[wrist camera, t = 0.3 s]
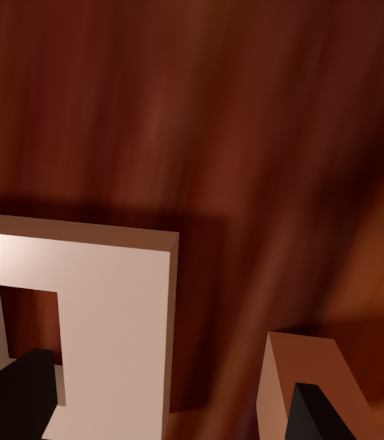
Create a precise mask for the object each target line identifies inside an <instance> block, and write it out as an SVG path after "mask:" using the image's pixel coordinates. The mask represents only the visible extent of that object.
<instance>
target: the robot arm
mask: <svg viewBox="0 0 384 440" xmlns="http://www.w3.org/2000/svg"><path fill="white" fill-rule="evenodd" d="M57 405H58V397H57V387H56V376H55V366H54V355H53V351H52V350H45V349H37V348H34V349H32V350H30V351H29V352H27V353H26V354H24V355H22V356H21V357H19V358H18V359H16V360H15V361H13V362H12V363H10V364H9V365H7V366H6V367H4V368H3V369H1V370H0V440H41V438H42V436H43V434H44V432H45V430H46V428H47V426H48V424H49V422H50V419H51V417H52V415H53V413H54V411H55V409H56V407H57ZM285 440H357V439H356V438H355V436H354V435H353V433H352V432H351V431H350V429H349V428H348V427H347V425H346V424H345V422H344V421H343V420H342V418H341V417H340V415H339V414H338V413H337V411H336V410H335V408H334V407H333V406H332V404H331V403H330V401H329V400H328V398H327V397H326V396H325V394H324V393H323V391H322V390H321V389H320V387H319V386H318V385H315V384H307V383H299V382H295V386H294V391H293V396H292V401H291V406H290V411H289V417H288V422H287V427H286V432H285Z"/></svg>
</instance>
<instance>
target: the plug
mask: <svg viewBox="0 0 384 440" xmlns="http://www.w3.org/2000/svg"><path fill="white" fill-rule="evenodd" d="M295 382H299V383H307V384H315V385H318V386H319V387H320V389H321V390H322V391H323V393H324V394H325V396H326V397H327V398H328V400H329V401H330V403H331V404H332V406H333V407H334V408H335V410H336V411H337V413H338V414H339V415H340V417H341V418H342V420H343V421H344V422H345V424H346V425H347V427H348V428H349V429H350V431H351V432H352V433H353V435H354V436H355V438H356V439H357V440H384V434H383V432H382V430H381V428H380V426H379V424H378V422H377V420H376V418H375V416H374V415H373V413H372V411H371V409H370V407H369V405H368V403H367V401H366V399H365V397H364V396H363V394H362V392H361V390H360V388H359V386H358V384H357V382H356V380H355V378H354V376H353V375H352V373H351V371H350V369H349V367H348V365H347V363H346V361H345V359H344V357H343V356H342V354H341V352H340V350H339V348H338V346H337V344H336V342H335V340H334V339H327V338H319V337H311V336H303V335H295V334H287V333H279V332H271V331H268V337H267V343H266V349H265V355H264V361H263V367H262V373H261V379H260V385H259V391H258V397H257V403H256V408H257V417H258V426H259V434H260V440H285V432H286V427H287V422H288V417H289V411H290V406H291V401H292V396H293V391H294V386H295Z"/></svg>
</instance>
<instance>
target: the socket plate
mask: <svg viewBox="0 0 384 440" xmlns="http://www.w3.org/2000/svg"><path fill="white" fill-rule="evenodd" d="M178 246H179V232H171V231H160V230H150V229H140V228H130V227H120V226H110V225H100V224H90V223H80V222H70V221H59V220H49V219H39V218H29V217H19V216H9V215H0V285H3V286H11V287H19V288H28V289H36V290H44V291H52V292H57V293H58V306H59V319H60V332H61V345H62V358H63V366H60V365H54V366H55V376H56V387H57V397H58V405H57V407H56V409H55V411H54V413H53V415H52V417H51V419H50V422H49V424H48V426H47V428H46V430H45V432H44V434H43V436H42V438H44V439H50V440H164V437H165V432H166V427H167V422H168V417H169V406H170V389H171V371H172V353H173V335H174V317H175V299H176V281H177V264H178ZM15 360H16V359H12V358H9V354H8V347H7V340H6V333H5V326H4V319H3V311H2V304H1V297H0V370H1V369H3V368H4V367H6V366H7V365H9V364H10V363H12V362H13V361H15Z"/></svg>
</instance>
